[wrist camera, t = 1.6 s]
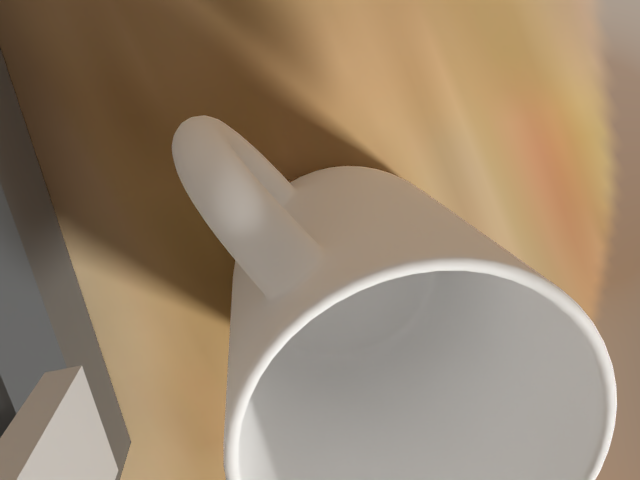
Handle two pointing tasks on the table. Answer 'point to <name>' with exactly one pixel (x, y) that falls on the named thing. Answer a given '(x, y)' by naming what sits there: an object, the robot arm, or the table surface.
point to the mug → (388, 332)
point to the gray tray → (41, 287)
